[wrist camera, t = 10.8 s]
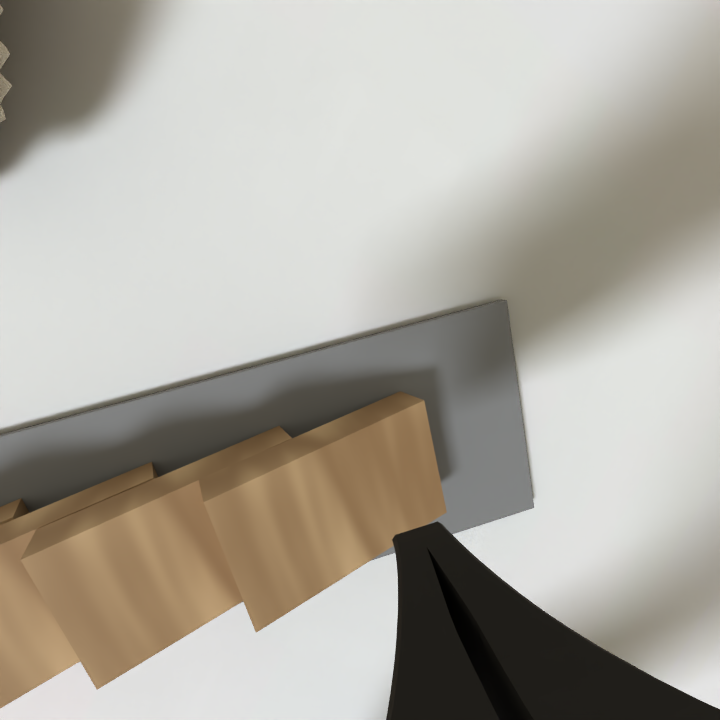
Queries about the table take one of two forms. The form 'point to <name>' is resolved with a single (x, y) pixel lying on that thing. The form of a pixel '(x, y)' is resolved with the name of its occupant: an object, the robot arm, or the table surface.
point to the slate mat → (309, 416)
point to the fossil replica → (3, 86)
